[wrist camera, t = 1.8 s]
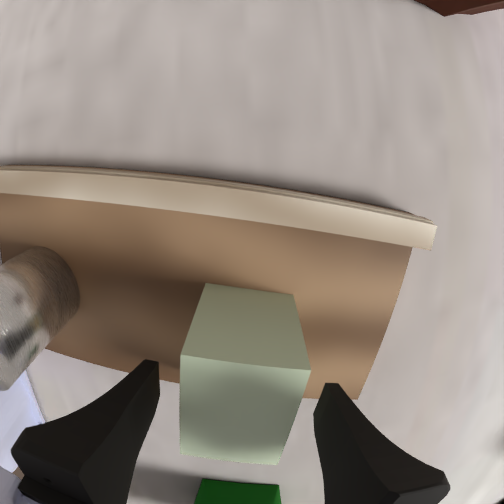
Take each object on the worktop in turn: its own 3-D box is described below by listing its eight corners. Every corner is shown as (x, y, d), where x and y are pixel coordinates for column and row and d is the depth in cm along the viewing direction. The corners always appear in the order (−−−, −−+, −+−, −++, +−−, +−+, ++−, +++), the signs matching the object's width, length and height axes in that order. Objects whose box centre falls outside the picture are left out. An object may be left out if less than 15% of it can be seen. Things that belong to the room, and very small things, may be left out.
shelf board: (353, 387, 19) (364, 418, 16) (24, 330, 18) (3, 350, 16) (410, 210, 16) (437, 223, 13) (9, 163, 15) (-23, 168, 12)
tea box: (293, 294, 16) (311, 370, 10) (272, 384, 18) (277, 464, 12) (202, 282, 16) (176, 353, 10) (195, 374, 17) (176, 453, 12)
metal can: (83, 330, 17) (25, 404, 10) (24, 312, 17) (-39, 370, 10) (77, 252, 15) (-5, 311, 9) (14, 241, 15) (-66, 284, 8)
